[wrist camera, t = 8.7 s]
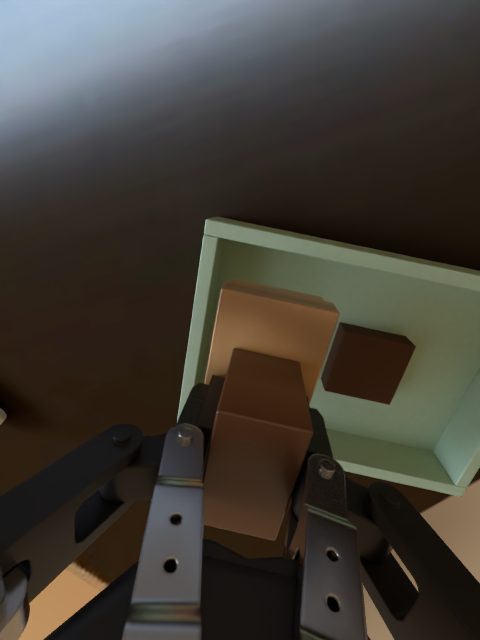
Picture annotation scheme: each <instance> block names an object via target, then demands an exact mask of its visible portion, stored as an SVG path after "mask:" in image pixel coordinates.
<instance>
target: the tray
mask: <svg viewBox="0 0 480 640" xmlns="http://www.w3.org/2000/svg"><path fill="white" fill-rule="evenodd" d="M204 234H205V235H204V236H203V243H202V250H201V257H200V264H199V271H198V278H197V285H196V292H195V299H194V306H193V313H192V320H191V327H190V334H189V341H188V348H187V355H186V362H185V369H184V376H183V383H182V390H181V397H180V404H179V411H178V418H177V421H178V419H179V416H180V414H181V412H182V410H183V407H184V405H185V403H186V400H187V398H188V396H189V393H190V391H191V389H192V387H194V386H195V385H197V384H198V383H203V384H204V381H205V375H206V370H207V364H208V358H209V353H210V347H211V341H212V336H213V330H214V324H215V319H216V313H217V307H218V302H219V296H220V290H221V288H222V286H223V284H224V283H225V281H226V280H228V281H232V280H233V279H234V278H235V279H240V280H245V281H249V282H254V283H259V284H263V285H268V286H273V287H278V288H282V289H287V290H292V291H296V292H301V293H306V294H310V295H315V296H320V297H322V298H323V300H324V301H326V302H331V303H333V304H334V305H335V307H336V308H337V310H338V311H339V313H340V315H339V318H338V321H337V324H336V327H335V330H334V333H333V336H332V339H331V342H330V345H329V348H328V351H327V354H326V357H325V360H324V363H323V366H322V369H321V372H320V375H319V378H318V381H317V384H316V387H315V390H314V393H313V396H312V399H311V402H310V405H309V406H310V408H315V409H317V410H318V411H319V412H320V414H321V415H322V416H323V418H324V422H325V427H326V430H327V435H328V438H329V442H330V446H331V450H332V454H333V458H334V459H335V460H336V461H337V462H338V463H339V464H340V465H341V466H342V467H343V469H344V471H348V472H352V473H357V474H361V475H366V476H370V477H375V478H379V479H384V480H388V481H393V482H397V483H402V484H406V485H411V486H415V487H420V488H424V489H429V490H433V491H438V492H442V493H447V494H451V495H456V496H460V497H461V496H462V495H463V493H464V492H465V490H466V487H467V486H468V485H469V483H470V482H471V480H472V479H473V477H474V475H475V474H476V472H477V471H478V469H479V468H480V271H478V270H473V269H468V268H463V267H458V266H454V265H449V264H444V263H439V262H434V261H429V260H425V259H420V258H415V257H410V256H405V255H401V254H396V253H391V252H386V251H381V250H376V249H372V248H367V247H362V246H357V245H352V244H348V243H343V242H338V241H333V240H328V239H323V238H319V237H314V236H309V235H304V234H299V233H295V232H290V231H285V230H280V229H275V228H270V227H266V226H261V225H256V224H251V223H246V222H242V221H237V220H232V219H227V218H222V217H215V218H210V219H206V222H205V229H204ZM340 322H342V323H346V324H351V325H356V326H360V327H365V328H370V329H375V330H379V331H384V332H389V333H393V334H398V335H403V336H406V337H407V338H408V339H409V340H410V341H411V342H412V343H413V344H414V345H415V346H416V348H415V350H414V353H413V355H412V357H411V359H410V361H409V364H408V366H407V368H406V370H405V373H404V375H403V377H402V379H401V381H400V384H399V386H398V388H397V390H396V392H395V395H394V397H393V399H392V401H391V403H390V405H388V404H383V403H378V402H374V401H369V400H365V399H360V398H355V397H351V396H346V395H342V394H337V393H332V392H328V391H325V390H324V387H323V384H322V380H321V376H322V373H323V370H324V367H325V364H326V361H327V358H328V355H329V352H330V350H331V347H332V344H333V341H334V338H335V335H336V332H337V329H338V326H339V323H340Z"/></svg>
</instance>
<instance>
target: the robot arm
mask: <svg viewBox="0 0 480 640" xmlns="http://www.w3.org/2000/svg"><path fill="white" fill-rule="evenodd" d="M224 381H225V377H222V376H217V375H212V378H211V381H210V383H209V385H208V384H203V383H198V384H197V385H195V386H194V387H192V389H191V391H190V393H189V396H188V398H187V400H186V403H185V405H184V407H183V410H182V412H181V414H180V416H179V419H178V421H177V423H176V425H174V426H172V427H171V428H170V429H169V430H168V431H167V433H166V434H163V435H159V436H143V433H142V431H141V430H140V429H139V428H138V427H136V426H133V425H130V424H119V425H115V426H112V427H110V428H108V429H107V430H105V431H104V432H102V433H100V434H99V435H97V436H96V437H94V438H92V439H91V440H89V441H88V442H86V443H85V444H83V445H81V446H80V447H78V448H77V449H75V450H73V451H72V452H70V453H69V454H67V455H66V456H64V457H62V458H61V459H59V460H58V461H56V462H54V463H53V464H51V465H50V466H48V467H46V468H45V469H43V470H42V471H40V472H39V473H37V474H35V475H34V476H32V477H31V478H29V479H27V480H26V481H24V482H23V483H21V484H20V485H18V486H16V487H15V488H13V489H12V490H10V491H8V492H7V493H5V494H4V495H2V496H0V640H18V639H19V637H20V636H21V634H22V633H23V631H24V629H25V627H26V624H27V621H28V618H29V613H30V605H29V603H30V602H31V601H32V600H33V599H34V598H35V597H36V596H37V595H38V594H39V593H40V592H41V591H43V590H44V589H45V588H46V587H47V586H48V585H49V584H50V583H51V582H52V581H53V580H54V579H55V578H56V577H57V576H58V575H59V574H60V573H61V572H62V571H63V570H64V569H66V568H67V567H68V566H69V565H70V564H71V563H72V562H73V561H74V560H75V559H76V558H77V557H78V556H79V555H80V554H81V553H82V552H83V551H84V550H85V549H86V548H87V547H89V546H90V545H91V544H92V543H93V542H94V541H95V540H96V539H97V538H98V537H99V536H100V535H101V534H102V533H103V532H104V531H105V530H106V529H107V528H108V527H109V526H110V525H112V524H113V523H114V522H115V521H116V520H117V519H118V518H119V517H120V516H121V515H122V514H123V513H124V512H125V511H126V510H127V509H128V508H129V507H130V506H131V505H132V504H133V503H134V502H135V501H137V500H147V499H152V501H151V506H150V511H149V515H148V520H147V525H146V530H145V535H144V540H143V544H142V549H141V554H140V559H139V561H138V562H136V563H135V564H134V565H133V566H131V567H130V568H129V569H128V570H127V571H125V572H124V573H123V574H122V575H121V576H119V577H118V578H117V579H116V580H115V581H113V582H112V583H111V584H110V585H109V586H107V587H106V588H105V589H104V590H103V591H101V592H100V593H99V594H98V595H97V596H95V597H94V598H93V599H92V600H91V601H89V602H88V603H87V604H86V605H85V606H83V607H82V608H81V609H80V610H78V612H76V613H75V614H74V615H73V616H71V617H70V618H69V619H68V620H67V621H65V622H64V623H63V624H62V625H61V626H59V627H58V628H57V629H56V630H54V631H53V632H52V633H51V634H50V635H48V636H47V637H46V638H45V639H44V640H370V638H369V637H368V635H367V627H366V616H365V607H364V596H363V586H362V583H363V585H364V587H365V588H366V590H367V592H368V594H369V595H370V597H371V599H372V601H373V603H374V604H375V606H376V608H377V609H378V611H379V613H380V615H381V617H382V618H383V620H384V622H385V624H386V625H387V627H388V629H389V631H390V633H391V634H392V636H393V638H394V640H480V583H479V582H478V581H477V580H476V579H475V578H474V576H473V575H472V574H471V573H470V572H469V571H468V569H467V568H466V567H465V566H464V565H463V564H462V562H461V561H460V560H459V559H458V558H457V557H456V556H455V554H454V553H453V552H452V551H451V550H450V549H449V547H448V546H447V545H446V544H445V543H444V541H443V540H442V539H441V538H440V537H439V536H438V535H437V533H436V532H435V531H434V530H433V529H432V528H431V526H430V525H429V524H428V523H427V522H426V520H425V519H424V518H423V517H422V516H421V515H420V513H419V512H418V511H417V510H416V509H415V508H414V506H413V505H412V504H411V503H410V502H409V501H408V499H407V498H406V497H405V496H404V495H403V494H402V493H401V492H400V491H399V490H397V489H396V488H394V487H393V486H391V485H389V484H386V483H382V482H375V483H373V484H371V485H370V487H369V489H368V488H366V487H364V486H362V485H360V484H358V483H356V482H354V481H352V480H350V479H349V478H347V477H346V475H345V471H344V469H343V467H342V466H341V465H340V464H339V463H338V462H337V461H336V460H335V459H334V458H333V454H332V450H331V446H330V442H329V438H328V435H327V430H326V427H325V422H324V418H323V416H322V415H321V414H320V412H319V411H318V410H317V409H315V408H310V406H309V400H308V396H307V395H306V397H307V402H308V407H309V412H310V418H311V423H312V428H313V436H312V438H311V441H310V444H309V447H308V450H307V452H306V455H305V458H304V461H303V464H302V467H301V469H300V472H299V475H298V478H297V481H296V483H295V486H294V489H293V492H292V495H291V499H292V504H291V507H290V510H289V513H288V521H287V528H286V536H285V543H284V551H283V557H271V558H255V559H248V558H245V557H243V556H241V555H239V554H237V553H235V552H234V551H232V550H230V549H228V548H226V547H224V546H222V545H221V544H219V543H217V542H215V541H211V540H207V539H203V515H204V482H203V481H202V479H203V475H204V470H205V465H206V460H207V455H208V450H209V445H210V440H211V435H212V430H213V425H214V420H215V415H216V411H217V407H218V403H219V399H220V396H221V392H222V388H223V384H224ZM392 549H394V551H395V552H396V553H397V555H398V556H399V558H400V559H401V561H402V562H403V563H404V565H405V566H406V568H407V569H408V570H409V572H410V573H411V575H412V576H413V578H414V579H415V581H416V584H417V586H418V590H419V593H418V591H417V590H416V588H415V587H414V585H413V584H412V582H411V581H410V580H409V578H408V577H407V575H406V574H405V572H404V571H403V569H402V568H401V567H400V565H399V564H398V562H397V561H396V559H395V558H394V556H393V555H392V554H391V551H392Z"/></svg>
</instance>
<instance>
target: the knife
mask: <svg viewBox="0 0 480 640" xmlns="http://www.w3.org/2000/svg"><path fill="white" fill-rule="evenodd" d="M6 417H7V415H6V413H5V412H4V411H3V410H2V409H1V408H0V425H1V423H2V422H3V421H4V420H5V419H6Z"/></svg>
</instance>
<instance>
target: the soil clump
mask: <svg viewBox="0 0 480 640" xmlns="http://www.w3.org/2000/svg"><path fill="white" fill-rule="evenodd" d="M415 348H416V346H415V345H414V344H413V343H412V342H411V341H410V340H409V339H408V338H407V337H406V336H403V335H398V334H393V333H389V332H384V331H379V330H375V329H370V328H365V327H360V326H356V325H351V324H346V323H342V322H340V323H339V326H338V329H337V332H336V335H335V338H334V341H333V344H332V347H331V350H330V352H329V355H328V358H327V361H326V364H325V367H324V370H323V373H322V376H321V380H322V384H323V387H324V390H325V391H328V392H332V393H337V394H342V395H346V396H351V397H355V398H360V399H365V400H369V401H374V402H378V403H383V404H388V405H390V403H391V401H392V399H393V397H394V395H395V392H396V390H397V388H398V386H399V384H400V381H401V379H402V377H403V375H404V373H405V370H406V368H407V366H408V364H409V361H410V359H411V357H412V355H413V353H414V350H415Z"/></svg>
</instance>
